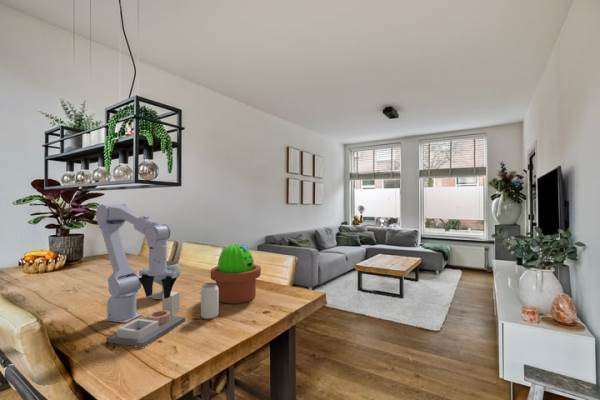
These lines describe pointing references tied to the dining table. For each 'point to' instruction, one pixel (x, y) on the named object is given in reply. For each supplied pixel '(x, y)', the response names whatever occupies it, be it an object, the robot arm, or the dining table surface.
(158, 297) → the chalice
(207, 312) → the can
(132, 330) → the socket board
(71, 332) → the dining table surface
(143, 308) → the dining table surface
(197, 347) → the dining table surface
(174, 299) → the square peg
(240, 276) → the potted cactus
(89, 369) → the dining table surface
